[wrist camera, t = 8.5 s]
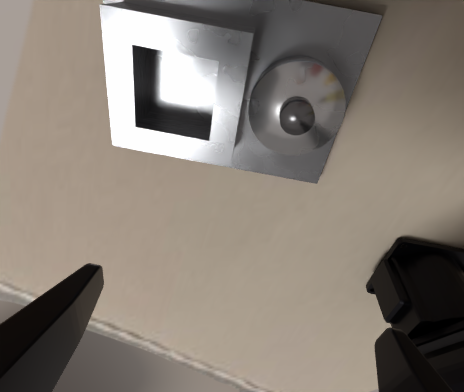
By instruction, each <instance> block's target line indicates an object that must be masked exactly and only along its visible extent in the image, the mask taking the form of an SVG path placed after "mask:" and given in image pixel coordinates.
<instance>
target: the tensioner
mask: <svg viewBox="0 0 464 392" xmlns="http://www.w3.org/2000/svg"><path fill="white" fill-rule="evenodd" d="M100 15H101V25H102V36H103V47H104V58H105V69H106V80H107V91H108V102H109V113H110V124H111V134H112V145H115V146H118V147H123V148H129V149H134V150H139V151H145V152H150V153H155V154H161V155H166V156H171V157H177V158H182V159H187V160H193V161H198V162H203V163H209V164H214V165H219V166H225V167H230V168H236V169H241V170H246V171H252V172H257V173H262V174H268V175H273V176H278V177H284V178H289V179H294V180H300V181H305V182H310V183H316V184H317V183H318V180H319V177H320V175H321V172H322V170H323V167H324V165H325V162H326V160H327V157H328V154H329V152H330V149H331V147H332V144H333V142H334V139H335V137H336V134H337V131H338V129H339V128H340V126H341V123H342V121H343V118H344V115H345V111H346V108H347V106H348V103H349V101H350V98H351V96H352V93H353V90H354V88H355V85H356V83H357V80H358V78H359V75H360V72H361V70H362V67H363V65H364V62H365V60H366V57H367V55H368V52H369V49H370V47H371V44H372V42H373V39H374V37H375V34H376V31H377V29H378V26H379V24H380V21H381V19H382V15H378V14H374V13H368V12H363V11H358V10H353V9H347V8H342V7H337V6H332V5H327V4H321V3H316V2H311V1H306V0H103V4H100Z"/></svg>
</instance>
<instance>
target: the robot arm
mask: <svg viewBox="0 0 464 392" xmlns="http://www.w3.org/2000/svg"><path fill="white" fill-rule="evenodd" d="M403 244H404V245H403ZM103 285H104V279H103V269H102V267H101V266H100V265H96V264H91V263H88V264H86V265H84V266H83V267H81V268H80V269H78V270H77V271H76V272H74V273H73V274H71V275H70V276H68V277H67V278H66V279H64V280H63V281H61V282H60V283H58V284H57V285H56V286H54V287H53V288H51V289H50V290H48V291H47V292H45V293H44V294H43V295H41V296H40V297H38V298H37V299H35V300H34V301H33V302H31V303H30V304H28V305H27V306H25V307H24V308H23V309H21V310H20V311H18V312H17V313H15V314H14V315H13V316H11V317H10V318H8V319H7V320H5V321H4V322H2V323H1V324H0V392H52V391H53V389H54V387H55V385H56V384H57V382H58V380H59V378H60V376H61V375H62V373H63V371H64V369H65V367H66V365H67V364H68V362H69V360H70V358H71V356H72V355H73V353H74V351H75V349H76V348H77V346H78V344H79V342H80V340H81V338H82V336H83V334H84V331H85V329H86V327H87V324H88V322H89V320H90V317H91V315H92V313H93V310H94V308H95V305H96V303H97V301H98V298H99V296H100V294H101V291H102V289H103ZM366 289H367V292H368V293H371V294H376V297H377V300H378V303H379V306H380V309H381V311H382V314H383V317H384V320H385V321H386V322H387V323H390V324H391V326H392V328H387V329H386V330H385V331H384V332H383V333H382V334H381V335H380V337H379V338H378V339H377V340H376V342H375V357H376V367H377V377H378V388H379V392H464V250H463V249H458V248H452V247H447V246H442V245H436V244H431V243H426V242H420V241H415V240H409V239H399V240H397V241H396V242H395V243H394V245H393V246H392V248H391V249H390V251H389V252H388V254H387V255H386V257H385V258H384V260H383V261H382V262H381V264H380V265H379V267H378V268H377V270H376V271H375V273H374V274H373V276H372V277H371V279H370V281H369V282H368V283H367V285H366Z"/></svg>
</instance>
